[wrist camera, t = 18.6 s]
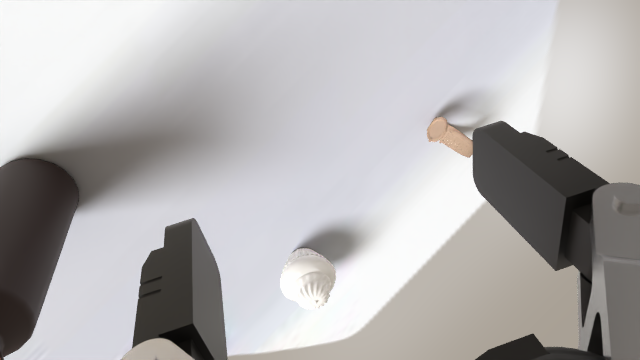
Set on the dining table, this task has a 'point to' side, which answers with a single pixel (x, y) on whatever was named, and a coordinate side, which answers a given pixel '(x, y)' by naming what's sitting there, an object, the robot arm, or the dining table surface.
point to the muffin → (307, 278)
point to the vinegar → (30, 242)
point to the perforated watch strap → (449, 137)
